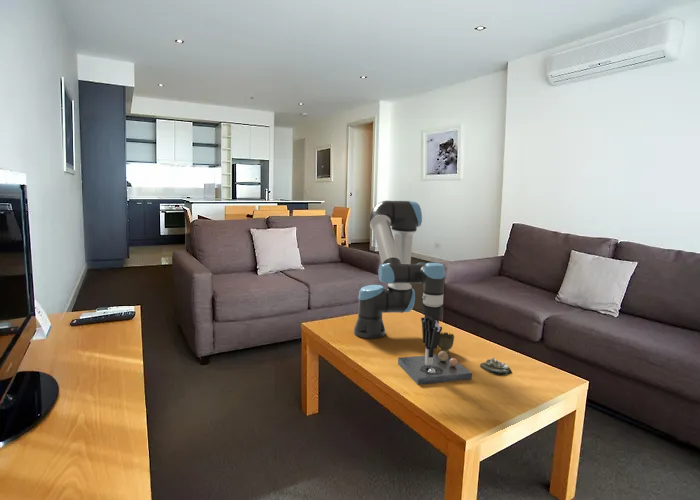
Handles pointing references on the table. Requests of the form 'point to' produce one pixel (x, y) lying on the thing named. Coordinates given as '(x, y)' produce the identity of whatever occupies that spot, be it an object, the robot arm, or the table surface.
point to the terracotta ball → (453, 362)
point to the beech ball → (443, 356)
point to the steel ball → (431, 370)
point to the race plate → (443, 369)
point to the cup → (445, 341)
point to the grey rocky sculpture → (495, 367)
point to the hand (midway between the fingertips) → (428, 363)
